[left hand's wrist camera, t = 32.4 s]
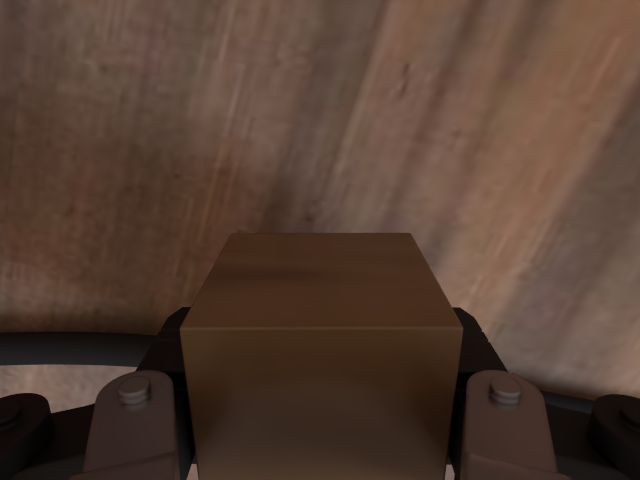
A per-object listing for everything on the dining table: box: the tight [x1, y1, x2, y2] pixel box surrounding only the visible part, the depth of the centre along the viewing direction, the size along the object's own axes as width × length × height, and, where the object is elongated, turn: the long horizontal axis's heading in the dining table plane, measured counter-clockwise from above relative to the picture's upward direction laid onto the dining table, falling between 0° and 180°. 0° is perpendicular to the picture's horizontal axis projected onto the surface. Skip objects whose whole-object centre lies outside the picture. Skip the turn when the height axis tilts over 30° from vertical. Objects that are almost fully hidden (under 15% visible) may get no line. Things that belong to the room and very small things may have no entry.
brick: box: [180, 233, 463, 480], centre depth 10 cm, size 5×5×5 cm
